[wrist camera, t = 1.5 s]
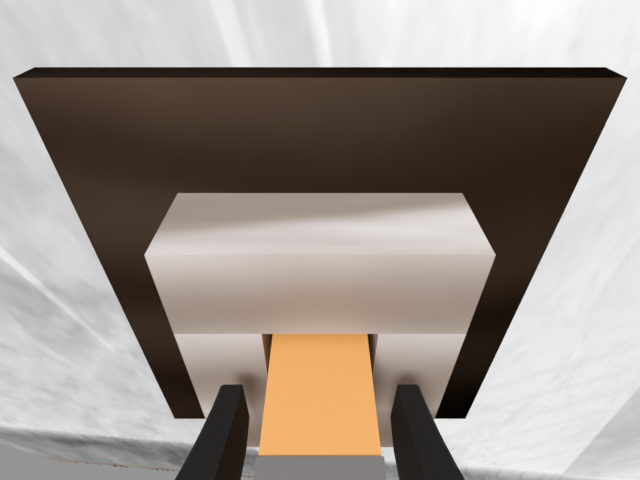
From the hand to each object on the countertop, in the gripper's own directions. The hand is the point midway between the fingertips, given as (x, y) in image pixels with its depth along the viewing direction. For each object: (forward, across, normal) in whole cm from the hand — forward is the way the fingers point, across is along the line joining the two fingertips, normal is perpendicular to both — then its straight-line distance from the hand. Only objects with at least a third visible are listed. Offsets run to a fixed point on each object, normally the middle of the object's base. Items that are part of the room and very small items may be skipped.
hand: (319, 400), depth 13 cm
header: (+5, 0, 0) cm, 5 cm away
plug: (+4, 0, 0) cm, 4 cm away
